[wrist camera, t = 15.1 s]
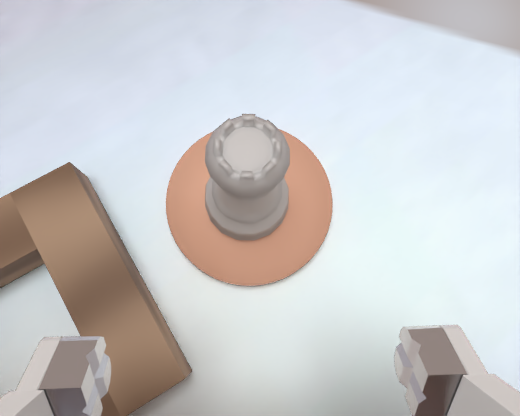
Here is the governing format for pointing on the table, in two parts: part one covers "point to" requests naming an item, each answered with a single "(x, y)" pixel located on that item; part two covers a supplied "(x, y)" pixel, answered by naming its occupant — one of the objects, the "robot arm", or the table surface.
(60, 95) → the table surface
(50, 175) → the socket block
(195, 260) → the coaster
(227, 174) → the rook chess piece
